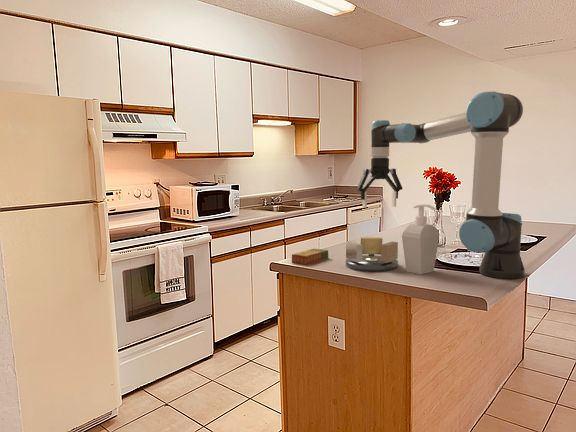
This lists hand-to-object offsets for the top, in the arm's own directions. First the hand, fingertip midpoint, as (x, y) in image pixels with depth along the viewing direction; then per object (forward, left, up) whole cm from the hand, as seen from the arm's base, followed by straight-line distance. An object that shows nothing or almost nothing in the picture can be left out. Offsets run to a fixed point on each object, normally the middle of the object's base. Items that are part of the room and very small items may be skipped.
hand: (379, 206), depth 193 cm
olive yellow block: (-5, +5, -20) cm, 22 cm away
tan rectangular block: (-19, +2, -20) cm, 28 cm away
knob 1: (-15, +15, -20) cm, 29 cm away
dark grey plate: (-13, +7, -23) cm, 27 cm away
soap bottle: (-26, -9, -23) cm, 35 cm away
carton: (+1, +30, -23) cm, 38 cm away
